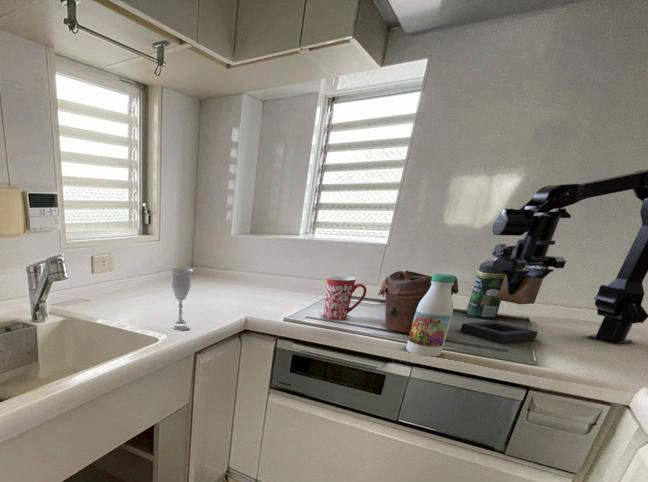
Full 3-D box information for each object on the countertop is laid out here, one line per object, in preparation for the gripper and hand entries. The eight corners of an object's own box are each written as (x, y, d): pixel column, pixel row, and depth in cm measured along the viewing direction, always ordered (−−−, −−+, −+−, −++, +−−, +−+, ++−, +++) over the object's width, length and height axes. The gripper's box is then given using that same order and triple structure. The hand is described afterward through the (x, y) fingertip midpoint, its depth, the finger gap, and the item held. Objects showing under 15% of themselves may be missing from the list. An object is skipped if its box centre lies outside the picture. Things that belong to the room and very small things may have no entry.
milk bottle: (408, 345, 110) (427, 271, 102) (442, 351, 106) (465, 274, 98) (403, 353, 105) (423, 275, 97) (438, 359, 100) (462, 278, 92)
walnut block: (509, 298, 119) (519, 272, 116) (534, 303, 113) (544, 276, 110) (496, 299, 118) (505, 273, 115) (520, 304, 112) (530, 276, 109)
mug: (319, 318, 137) (325, 278, 132) (321, 313, 144) (328, 274, 139) (360, 323, 132) (368, 281, 126) (360, 317, 139) (368, 277, 134)
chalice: (165, 325, 130) (166, 268, 123) (183, 323, 132) (185, 267, 125) (175, 331, 123) (176, 271, 116) (194, 329, 126) (197, 270, 119)
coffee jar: (462, 311, 146) (478, 258, 138) (489, 313, 143) (507, 259, 136) (469, 317, 137) (487, 262, 130) (498, 320, 135) (518, 263, 127)
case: (380, 318, 138) (392, 264, 131) (450, 329, 125) (468, 270, 118) (363, 328, 126) (375, 270, 119) (438, 342, 113) (457, 277, 106)
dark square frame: (491, 328, 125) (493, 320, 124) (534, 340, 114) (538, 331, 113) (460, 331, 123) (462, 323, 122) (501, 343, 112) (504, 335, 111)
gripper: (531, 233, 118) (512, 287, 124) (482, 234, 113) (464, 289, 119) (577, 236, 108) (554, 294, 114) (524, 237, 103) (503, 297, 109)
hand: (517, 293), depth 114 cm, fingers closed on walnut block, 5 cm apart
